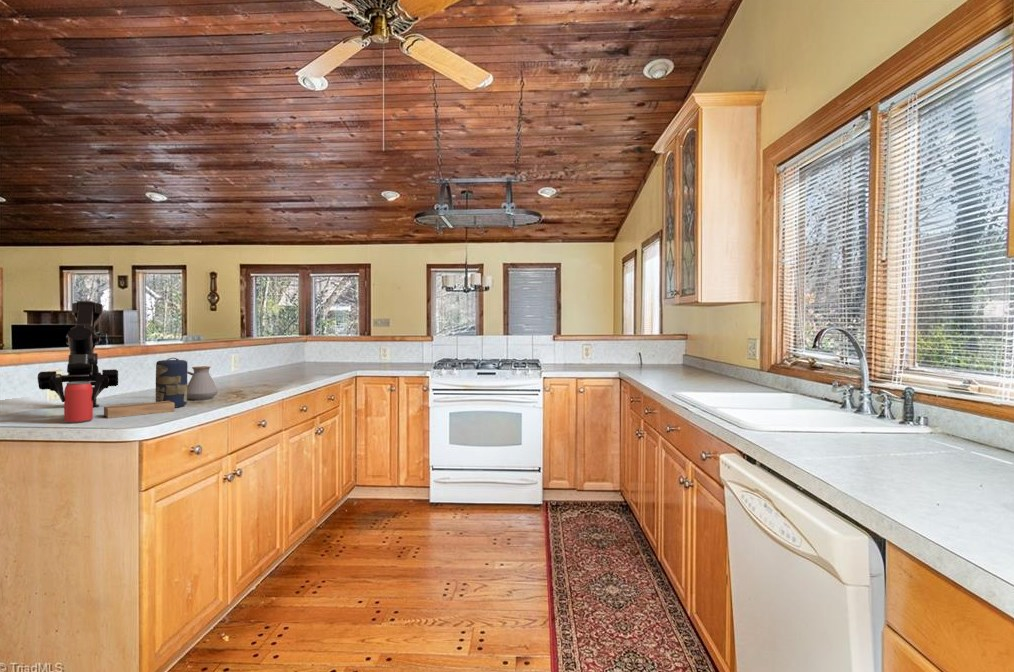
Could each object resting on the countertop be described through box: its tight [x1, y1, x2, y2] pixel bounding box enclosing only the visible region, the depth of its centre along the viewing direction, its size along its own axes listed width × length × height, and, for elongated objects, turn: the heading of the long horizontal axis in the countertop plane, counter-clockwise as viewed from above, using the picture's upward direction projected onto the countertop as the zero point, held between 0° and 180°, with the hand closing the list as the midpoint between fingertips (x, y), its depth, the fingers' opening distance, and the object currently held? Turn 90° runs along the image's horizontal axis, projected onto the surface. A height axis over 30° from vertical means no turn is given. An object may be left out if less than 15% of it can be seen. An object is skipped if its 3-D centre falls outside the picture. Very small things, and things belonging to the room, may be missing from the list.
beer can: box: [63, 381, 94, 424], centre depth 148 cm, size 7×7×12 cm
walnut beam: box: [103, 401, 176, 419], centre depth 162 cm, size 6×18×3 cm, turn 139°
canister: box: [155, 357, 188, 408], centre depth 175 cm, size 10×10×18 cm
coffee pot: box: [187, 366, 218, 401], centre depth 194 cm, size 21×12×15 cm, turn 98°
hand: (78, 400), depth 147 cm, fingers closed on beer can, 6 cm apart
